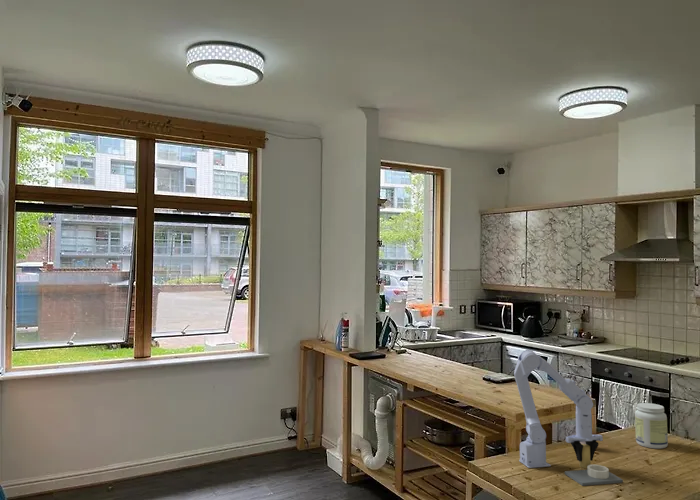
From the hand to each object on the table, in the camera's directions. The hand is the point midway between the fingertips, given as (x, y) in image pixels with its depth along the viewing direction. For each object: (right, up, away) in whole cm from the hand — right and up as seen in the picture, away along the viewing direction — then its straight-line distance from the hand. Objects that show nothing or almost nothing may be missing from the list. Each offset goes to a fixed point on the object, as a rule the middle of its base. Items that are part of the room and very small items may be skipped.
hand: (584, 460), depth 202 cm
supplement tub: (+40, -4, +25) cm, 48 cm away
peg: (0, -2, 0) cm, 2 cm away
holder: (-2, -2, -12) cm, 12 cm away
